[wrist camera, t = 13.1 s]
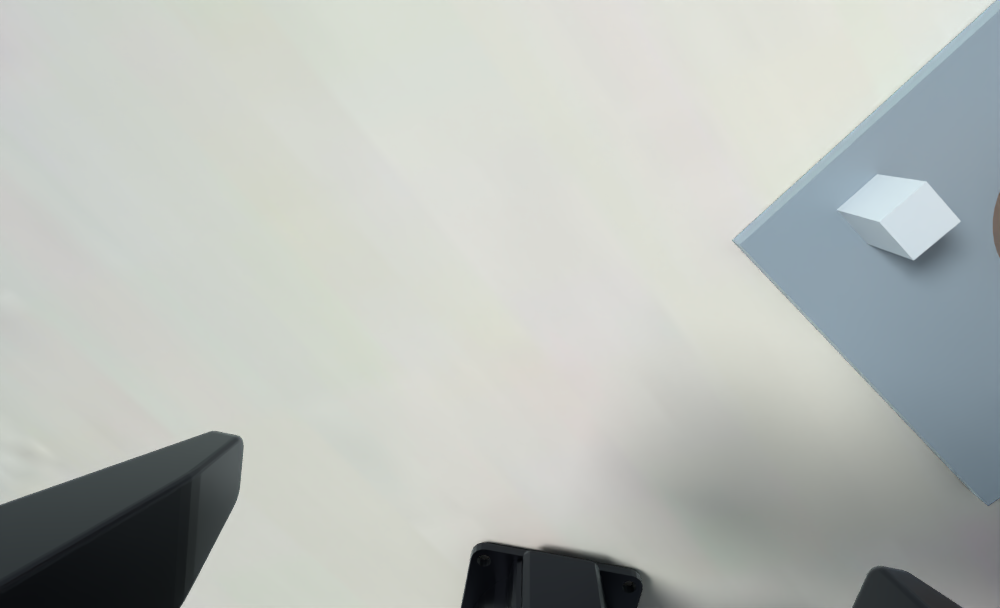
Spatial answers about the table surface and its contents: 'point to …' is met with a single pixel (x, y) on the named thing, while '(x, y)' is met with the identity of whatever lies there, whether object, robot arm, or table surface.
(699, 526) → the table surface
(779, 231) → the plate
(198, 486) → the robot arm
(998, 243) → the tan bottle
